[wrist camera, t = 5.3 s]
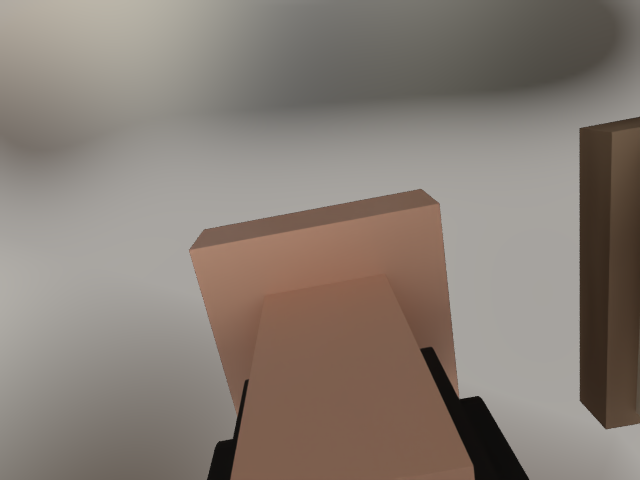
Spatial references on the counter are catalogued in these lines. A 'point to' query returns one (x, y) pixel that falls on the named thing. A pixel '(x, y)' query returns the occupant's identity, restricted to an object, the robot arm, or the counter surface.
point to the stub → (336, 340)
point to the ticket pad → (610, 272)
